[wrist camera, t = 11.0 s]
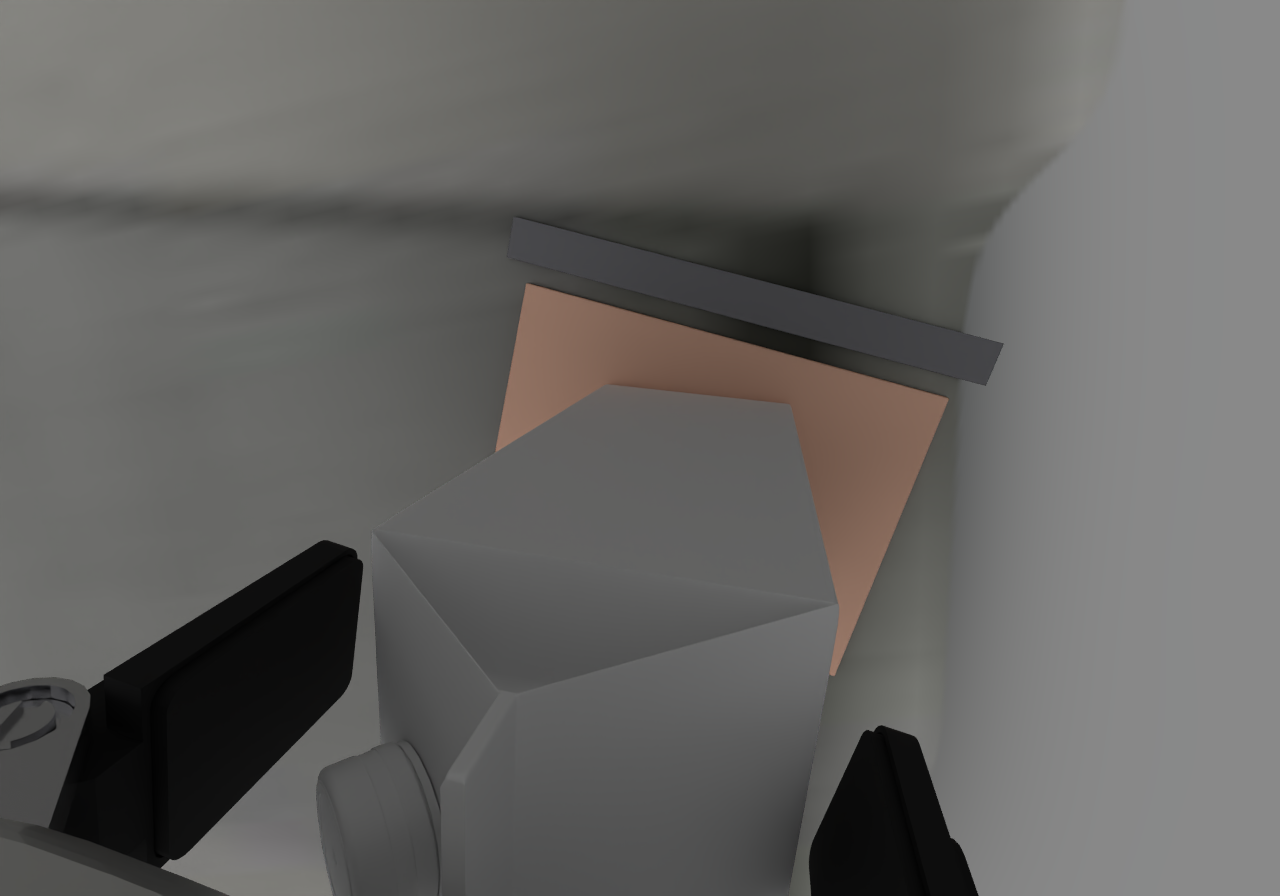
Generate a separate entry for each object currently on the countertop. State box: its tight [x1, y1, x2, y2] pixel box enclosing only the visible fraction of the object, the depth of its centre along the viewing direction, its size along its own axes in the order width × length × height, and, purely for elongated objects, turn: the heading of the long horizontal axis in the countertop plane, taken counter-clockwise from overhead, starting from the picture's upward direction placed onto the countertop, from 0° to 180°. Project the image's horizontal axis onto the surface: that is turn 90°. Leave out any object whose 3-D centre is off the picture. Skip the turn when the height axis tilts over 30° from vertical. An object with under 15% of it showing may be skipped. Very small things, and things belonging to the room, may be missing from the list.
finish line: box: [507, 217, 1003, 386], centre depth 22 cm, size 2×18×1 cm, turn 76°
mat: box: [495, 283, 949, 676], centre depth 24 cm, size 12×16×1 cm
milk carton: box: [316, 384, 839, 896], centre depth 15 cm, size 7×7×19 cm
